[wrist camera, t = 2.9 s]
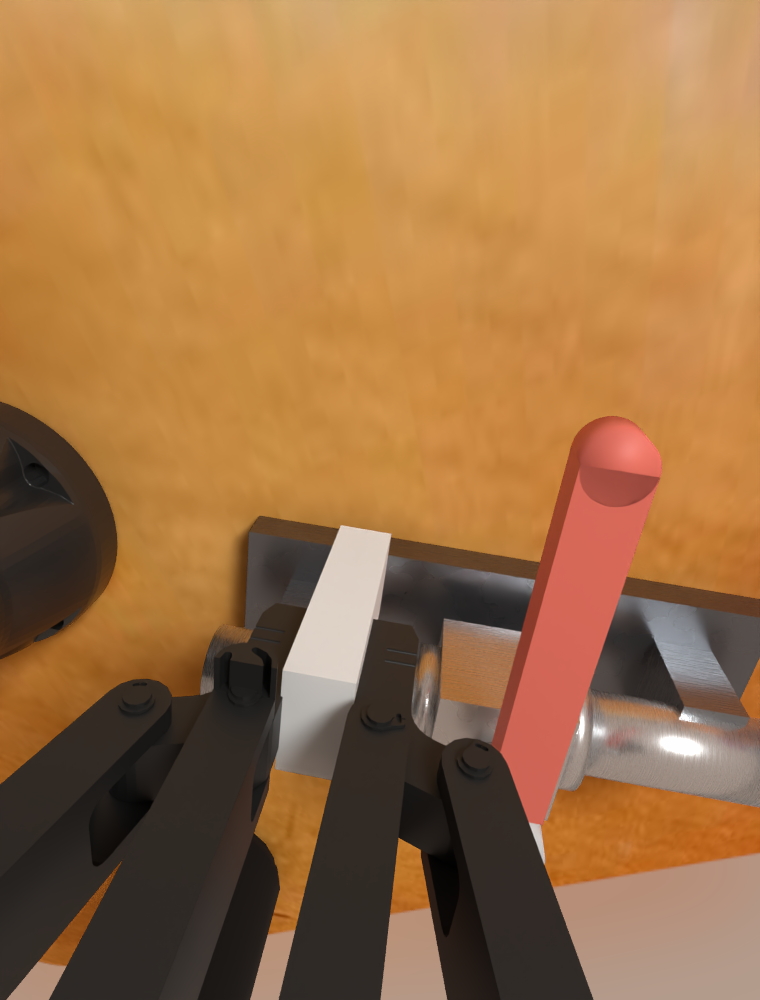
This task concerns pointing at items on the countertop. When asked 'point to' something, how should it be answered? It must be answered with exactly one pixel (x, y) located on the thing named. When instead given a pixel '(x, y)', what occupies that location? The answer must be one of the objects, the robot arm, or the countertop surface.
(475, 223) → the countertop surface
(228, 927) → the coffee jar
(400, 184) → the countertop surface
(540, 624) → the valve lever
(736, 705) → the valve stand
